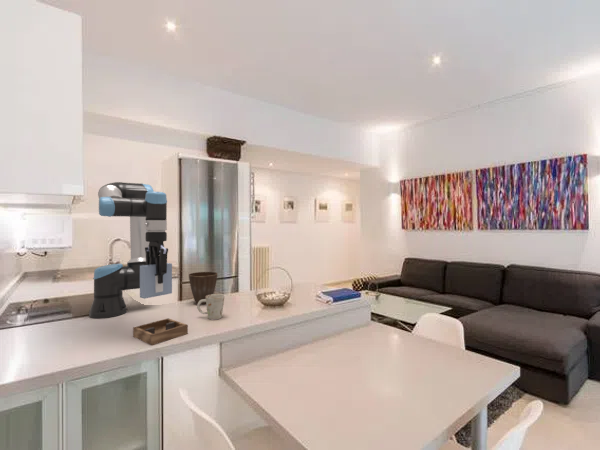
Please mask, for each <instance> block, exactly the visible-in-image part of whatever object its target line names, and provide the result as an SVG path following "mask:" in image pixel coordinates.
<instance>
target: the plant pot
mask: <svg viewBox="0 0 600 450" xmlns="http://www.w3.org/2000/svg"><path fill="white" fill-rule="evenodd" d="M188 279H189V280H188V281H189V286H190V291H191V295H192V296H193V300H194V302H195V304H196V305H197V304H198V302H199V301H200V300H202V299H206V298H205V297H206V296H207V295H211V294H215V293H214V292H215V291H216V290H215V289H216V285H217V279H218V272H215V271H214V272H213V271H197V272H192V273H189V274H188ZM203 305H205V306H206V302H202V303H201V304H200V306H203Z"/></svg>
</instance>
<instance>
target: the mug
mask: <svg viewBox="0 0 600 450" xmlns="http://www.w3.org/2000/svg"><path fill="white" fill-rule="evenodd" d="M205 298H206V299H202V300H200V301H199V302H198V304H196V309H197V311H198V312H199V313H201V314H203V315H207V319H208V320H214V321H215V320H221V319H222V318H223V312H224V304H225V295H224V294H222V293H213V294H211V295H207V296H206V297H205ZM202 302H206V304H205V306H206V310H207V311H202V309H201V305H200V304H201V303H202Z"/></svg>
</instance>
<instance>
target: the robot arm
mask: <svg viewBox="0 0 600 450" xmlns="http://www.w3.org/2000/svg"><path fill="white" fill-rule="evenodd" d="M97 193H98V194H97V197H98V214H99V216H101V217H110V218H111V217H129V235H130V236H129V239H130V242H129V245H130V259H128V261H127V262H126V263H127V264H126V266H124V265H123V264H122V263H112V264H106V265H101V266H98V267H96V268H95V269H94V271H93V278H92V279H93V300H92V303H91V306H90V308H89V313H88V314H89V315H88V317H89V318H92V319H105V318H114V317H117V316H121V315H123V314H126V313H127V310H128V309H127V308H128V307H127V304H126V302H125V298H124V297H123V291H127V290H138V289H139V290H140V266H143V265H153V264H156V274H155V292H156V293H157V292H162V291H163V275H164V274H165V273H167V263H168V253H169V248H168V247H165V245H164V244H165V243H164V242H167V240H168V238H167V237H168V235H167V234H168V233H167V232H166V231H167V230H168V229H167V228H168V227H167V226H168V221H167V213H168V211H167V210H168V209H167V207H168V205H167V204H168V199H167V194H166V193H165V192H164V191H155V190H154V188H153V187H152V185H150V184H148V183H147V184H146V183H143V182H141V183H136V182H135V183H134V182H123V181H120V182H119V181H115V182H110V183H107V184H105V185H102V186H101V187H100V188H99V189H98V192H97Z"/></svg>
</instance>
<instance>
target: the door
mask: <svg viewBox="0 0 600 450" xmlns="http://www.w3.org/2000/svg"><path fill="white" fill-rule="evenodd" d="M155 274H156V264H153V265H143V266H140V288H139V298H141V299H144V300H145V299H149V298H154V297H161V296H165V295H171V294H173V263H171V262H167V273H165V274H164V275H163V291H162V292H157V293H156V292H155Z"/></svg>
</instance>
